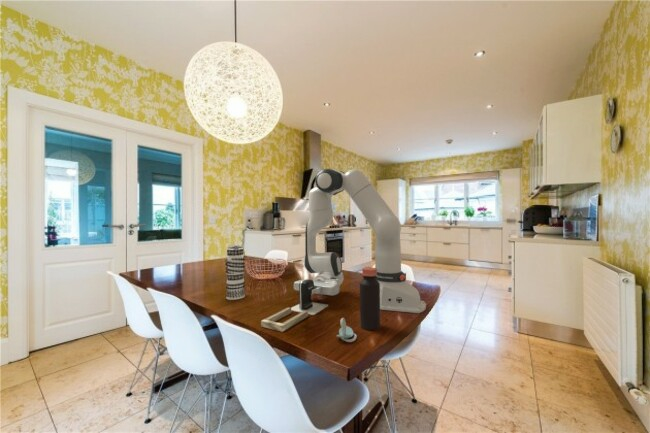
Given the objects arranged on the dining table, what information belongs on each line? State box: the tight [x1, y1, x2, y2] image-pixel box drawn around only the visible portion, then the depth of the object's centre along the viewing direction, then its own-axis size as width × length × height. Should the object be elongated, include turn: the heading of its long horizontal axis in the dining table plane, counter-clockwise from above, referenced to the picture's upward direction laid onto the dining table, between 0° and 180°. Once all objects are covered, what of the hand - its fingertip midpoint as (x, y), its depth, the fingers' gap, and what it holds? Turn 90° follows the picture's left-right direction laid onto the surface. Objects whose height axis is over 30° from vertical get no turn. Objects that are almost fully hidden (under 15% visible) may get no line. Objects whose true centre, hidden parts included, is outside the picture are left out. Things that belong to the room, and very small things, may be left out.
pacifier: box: [336, 317, 358, 343], centre depth 82 cm, size 7×6×6 cm
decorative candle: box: [224, 244, 246, 301], centre depth 126 cm, size 9×9×25 cm
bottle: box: [359, 266, 381, 331], centre depth 90 cm, size 7×7×20 cm
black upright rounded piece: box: [298, 278, 314, 310], centre depth 108 cm, size 7×4×11 cm, turn 152°
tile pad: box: [290, 301, 329, 316], centre depth 109 cm, size 12×12×1 cm
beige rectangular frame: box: [260, 307, 309, 333], centre depth 95 cm, size 9×16×2 cm, turn 151°
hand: (306, 291), depth 107 cm, fingers closed on black upright rounded piece, 4 cm apart
